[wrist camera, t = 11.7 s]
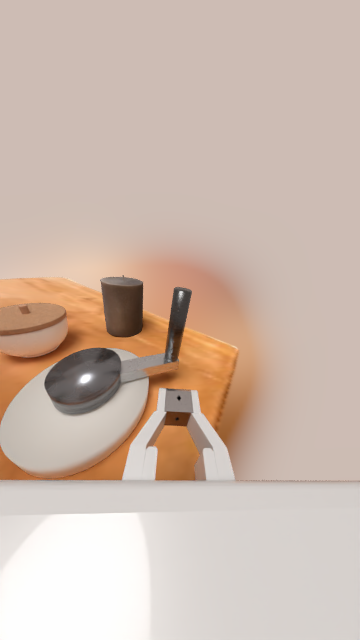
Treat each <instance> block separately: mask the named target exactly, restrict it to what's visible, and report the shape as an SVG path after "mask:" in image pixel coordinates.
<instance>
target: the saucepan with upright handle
mask: <svg viewBox="0 0 360 640" xmlns="http://www.w3.org/2000/svg"><path fill="white" fill-rule="evenodd" d="M191 293H192V291H191V290H189V289H186V288H180V287H176V288H174V293H173V300H172V307H171V315H170V321H169V328H168V335H167V342H166V350H165V353H163V354H157V355H152V356H146V357H140V358H135V359H129V360H124V361H121V359H120V357H119V355H118V354H117V353H116V352H114V351H113V350H110V349H106V348H90V349H85V350H81V351H78V352H76V353H73V354H71V355H69V356H67V357H65V358H64V359H62V360H61V361H59V362H58V363H57V364H56V365H54V366H53V367H52V368H51V370H50V371H49V372H48V374H47V376H46V378H45V382H44V386H45V390H46V392H47V393H48V395H49V397H50V399H51V401H52V403H53V405H54V407H55V408H56V409H57V410H58V411H60V412H62V413H65V414H81V413H85V412H88V411H91V410H93V409H96V408H98V407H99V406H101V405H103V404H104V403H105V402H107V401H108V400H109V399H110V398H111V397H112V396H113V395H114V394H115V393H116V392H117V390H118V389H119V387H120V384H121V383H123V382H127V381H131V380H135V379H139V378H143V377H147V376H151V375H155V374H159V373H163V372H167V371H171V370H175V369H178V364H179V360H178V356H179V351H180V347H181V342H182V337H183V332H184V327H185V322H186V318H187V313H188V308H189V303H190V298H191Z"/></svg>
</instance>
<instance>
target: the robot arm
mask: <svg viewBox="0 0 360 640" xmlns="http://www.w3.org/2000/svg"><path fill="white" fill-rule="evenodd" d="M164 425H172V426H187V429H188V431H189V433H190V435H191V437H192V439H193V441H194V443H195V445H196V447H197V449H198V451H199V454H200V456H199V458H198V460H197V462H196V463H195V465H194V467H195V480H155V474H156V462H157V451H158V449H157V448H156V447H153V445H154V444H155V442H156V440H157V438H158V436H159V434H160V433H161V431H162V429H163V427H164ZM0 640H360V481H235V477H234V473H233V469H232V465H231V462H230V458H229V454H228V450H227V448H226V446H225V445H224V443H223V442H222V440H221V439H220V437H219V436H218V435H217V433H216V432H215V430H214V429H213V427H212V426H211V425H210V423H209V422H208V420H207V419H206V417H205V416H204V414H201V410H200V404H199V398H198V392H197V391H196V390H184V389H168V388H159V395H158V403H157V411H154V413H153V414H152V415H151V417H150V418H149V420H148V421H147V422H146V424H145V425H144V427H143V428H142V429H141V431H140V432H139V434H138V435H137V436H136V438H135V439H134V441H133V442H132V444H131V445H130V449H129V453H128V457H127V461H126V465H125V470H124V474H123V478H122V480H0Z"/></svg>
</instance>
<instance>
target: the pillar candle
mask: <svg viewBox="0 0 360 640" xmlns="http://www.w3.org/2000/svg"><path fill="white" fill-rule="evenodd" d="M100 281H101V287H102V295H103V303H104V313H105V321H106V327H107V332H108V333H109V334H111V335H113V336H119V337H128V336H133V335H136V334H138V333H139V332H140V331H141V330H142V318H143V282H142V281H140V280H137V279H133V278H126V277H124V276H123V277H108V278H103V279H101V280H100Z"/></svg>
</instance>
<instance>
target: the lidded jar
mask: <svg viewBox="0 0 360 640" xmlns="http://www.w3.org/2000/svg"><path fill="white" fill-rule="evenodd" d="M67 333H68V320H67V316H66V310H65V309H64V308H63V307H62V306H59V305H55V304H48V303H29V304H20V305H13V306H8V307H3V308H0V352H2V353H5V354H8V355H12V356H20V357H24V358H33V357H38V356H42V355H45V354H48V353H50V352H52V351H54V350H55V349H57V348H58V347H59V345H60V344H61V343H62V342H63V341H64V339H65V338H66V336H67Z"/></svg>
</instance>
